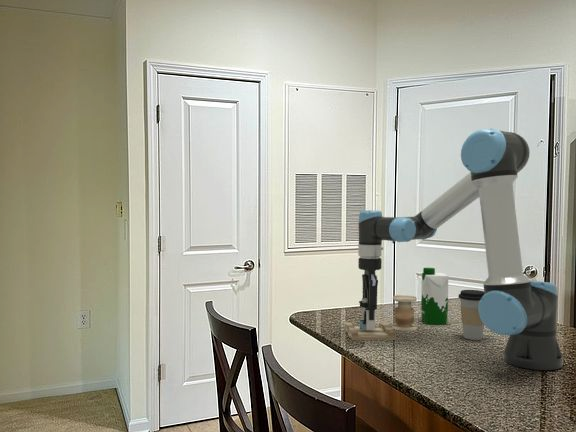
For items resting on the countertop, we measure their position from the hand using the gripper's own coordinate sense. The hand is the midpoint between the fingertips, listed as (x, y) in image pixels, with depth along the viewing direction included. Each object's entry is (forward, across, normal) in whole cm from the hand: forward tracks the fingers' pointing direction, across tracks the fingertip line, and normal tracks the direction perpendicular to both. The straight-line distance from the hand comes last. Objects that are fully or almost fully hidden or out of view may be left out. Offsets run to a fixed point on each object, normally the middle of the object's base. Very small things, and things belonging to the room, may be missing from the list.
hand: (369, 327), depth 182 cm
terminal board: (+2, 0, 0) cm, 2 cm away
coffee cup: (+3, -5, -33) cm, 33 cm away
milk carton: (+3, +15, -27) cm, 31 cm away
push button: (+1, 0, 0) cm, 1 cm away
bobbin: (+2, +8, -14) cm, 16 cm away
